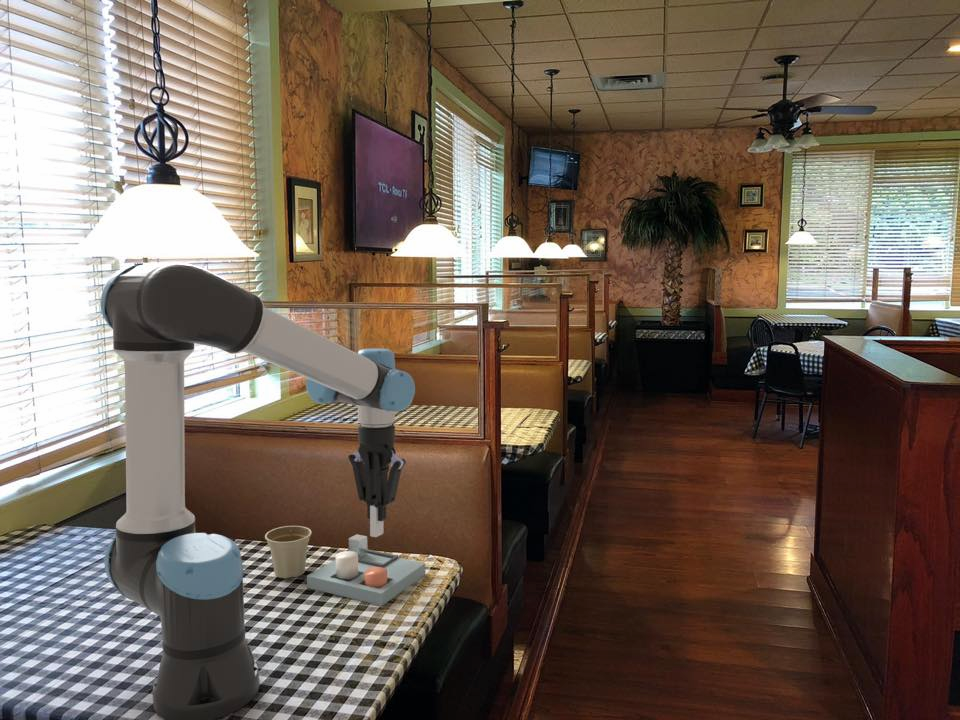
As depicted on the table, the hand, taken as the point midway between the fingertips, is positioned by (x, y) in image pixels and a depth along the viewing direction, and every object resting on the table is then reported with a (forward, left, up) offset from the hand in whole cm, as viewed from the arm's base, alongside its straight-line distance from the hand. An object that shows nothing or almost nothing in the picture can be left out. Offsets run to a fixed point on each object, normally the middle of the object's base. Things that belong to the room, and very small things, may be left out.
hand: (376, 534), depth 156 cm
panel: (-4, -1, -8) cm, 9 cm away
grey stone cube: (+1, +5, -6) cm, 8 cm away
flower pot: (-8, +16, -9) cm, 20 cm away
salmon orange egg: (-8, -6, -8) cm, 13 cm away
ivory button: (-8, +1, -6) cm, 10 cm away
